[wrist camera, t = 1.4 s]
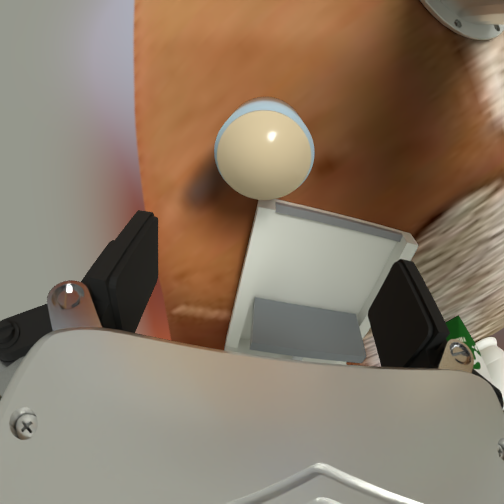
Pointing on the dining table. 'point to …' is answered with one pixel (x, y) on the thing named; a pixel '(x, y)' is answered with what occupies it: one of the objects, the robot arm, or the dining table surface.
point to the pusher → (305, 332)
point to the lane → (313, 265)
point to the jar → (493, 361)
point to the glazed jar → (264, 149)
